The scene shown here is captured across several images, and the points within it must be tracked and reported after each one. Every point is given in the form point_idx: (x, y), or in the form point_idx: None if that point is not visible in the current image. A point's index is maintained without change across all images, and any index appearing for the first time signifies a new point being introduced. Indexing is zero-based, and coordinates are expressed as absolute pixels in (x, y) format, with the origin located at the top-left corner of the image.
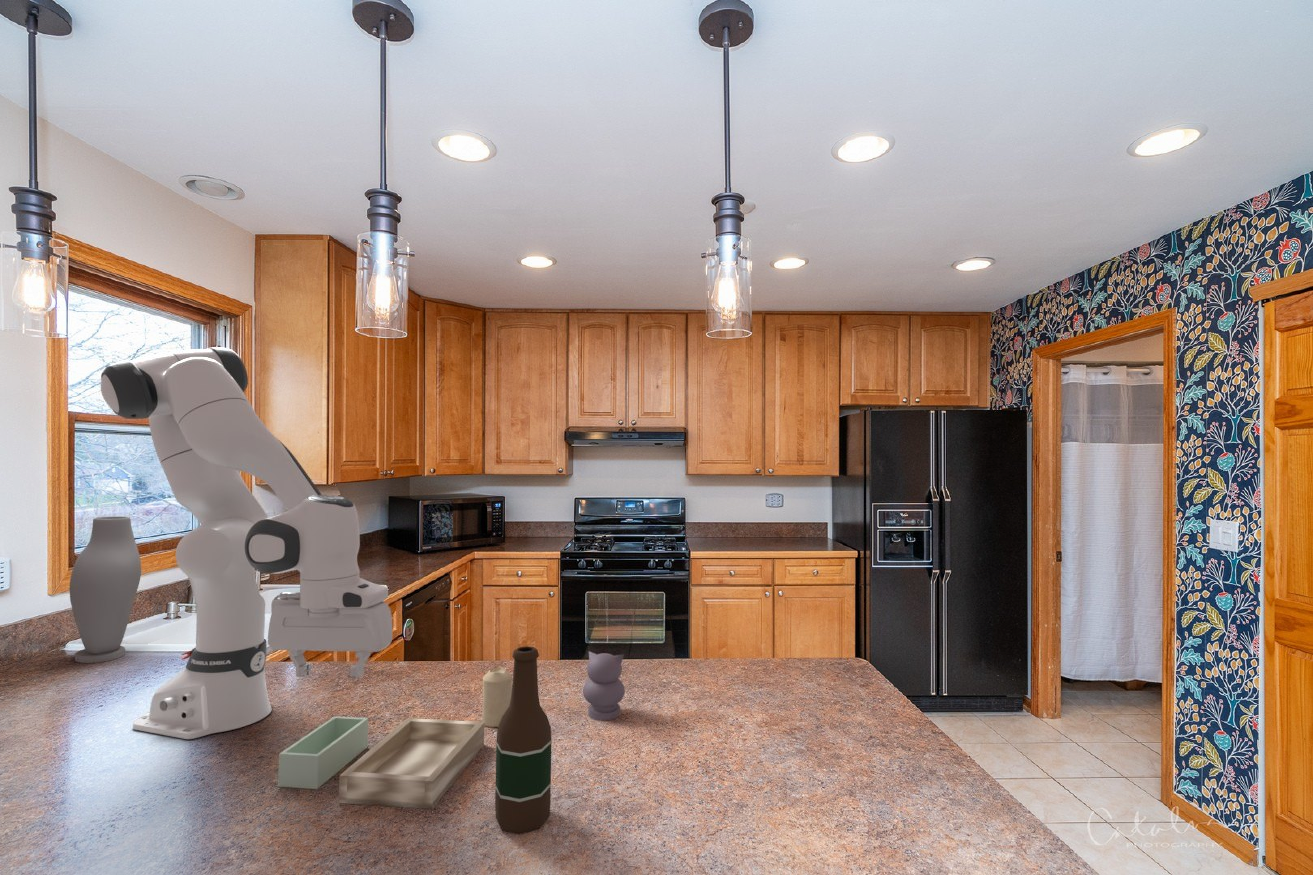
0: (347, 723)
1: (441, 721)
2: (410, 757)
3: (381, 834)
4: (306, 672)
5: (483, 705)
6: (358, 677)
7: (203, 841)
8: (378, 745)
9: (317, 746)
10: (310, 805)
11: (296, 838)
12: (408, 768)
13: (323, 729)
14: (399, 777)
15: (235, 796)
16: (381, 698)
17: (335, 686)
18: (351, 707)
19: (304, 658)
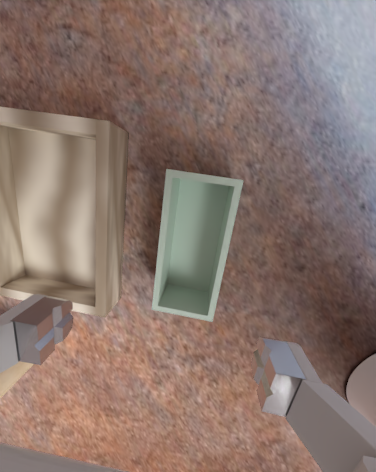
0: (186, 305)
1: None
2: (85, 241)
3: (33, 47)
4: (261, 356)
5: None
6: (37, 294)
7: (273, 14)
8: (101, 228)
9: (215, 261)
10: (164, 126)
11: (138, 30)
12: (72, 211)
13: (213, 284)
14: (12, 114)
15: (286, 153)
16: (206, 411)
17: (284, 452)
18: (235, 392)
19: (309, 450)
